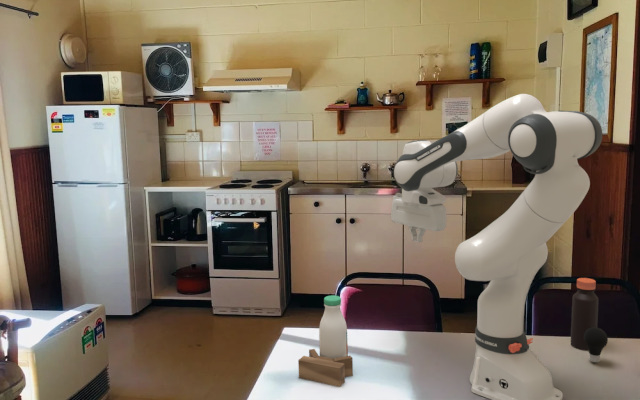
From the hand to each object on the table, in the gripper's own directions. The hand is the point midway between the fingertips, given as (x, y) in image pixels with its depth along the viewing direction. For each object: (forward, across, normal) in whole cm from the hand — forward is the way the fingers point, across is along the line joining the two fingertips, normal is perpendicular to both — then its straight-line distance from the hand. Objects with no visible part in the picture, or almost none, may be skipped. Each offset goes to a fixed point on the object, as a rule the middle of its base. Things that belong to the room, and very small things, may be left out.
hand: (417, 241), depth 162 cm
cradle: (+31, +3, -35) cm, 47 cm away
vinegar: (+31, +32, +36) cm, 57 cm away
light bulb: (+31, +40, +28) cm, 58 cm away
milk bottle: (+31, 0, -31) cm, 44 cm away
